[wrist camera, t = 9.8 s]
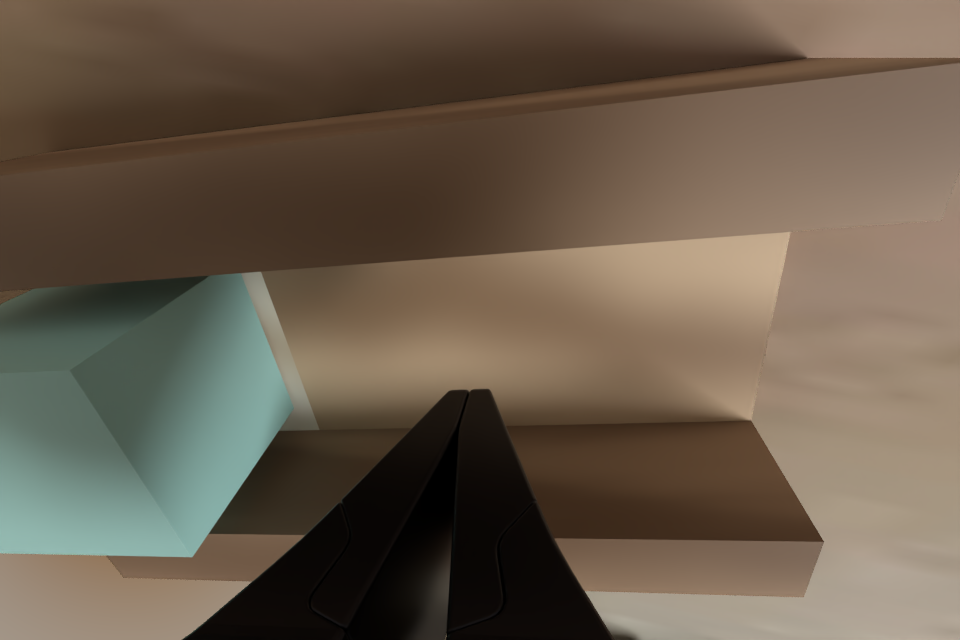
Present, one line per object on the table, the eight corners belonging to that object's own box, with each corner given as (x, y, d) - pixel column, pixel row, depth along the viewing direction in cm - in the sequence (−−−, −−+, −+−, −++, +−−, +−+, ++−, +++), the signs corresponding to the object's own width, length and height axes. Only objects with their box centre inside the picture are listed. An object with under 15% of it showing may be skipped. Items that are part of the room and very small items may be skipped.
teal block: (294, 408, 15) (192, 557, 10) (152, 412, 15) (0, 553, 11) (234, 258, 12) (69, 370, 8) (70, 271, 13) (-166, 381, 9)
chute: (733, 456, 15) (803, 596, 11) (214, 462, 17) (123, 577, 13) (811, 58, 9) (1001, 58, 6) (47, 152, 12) (-180, 196, 8)
